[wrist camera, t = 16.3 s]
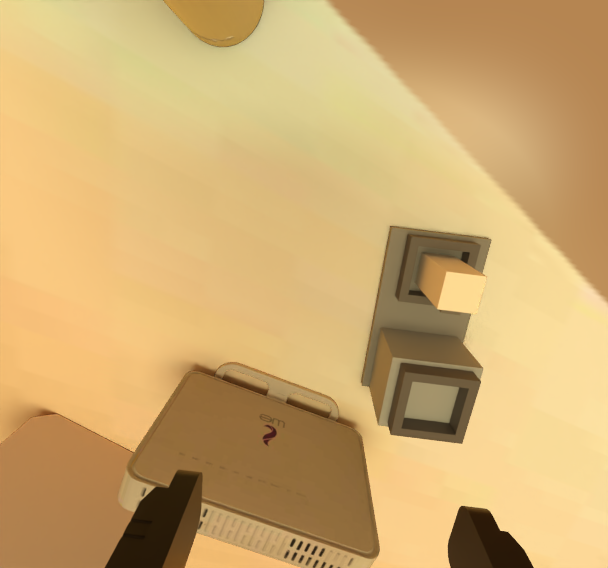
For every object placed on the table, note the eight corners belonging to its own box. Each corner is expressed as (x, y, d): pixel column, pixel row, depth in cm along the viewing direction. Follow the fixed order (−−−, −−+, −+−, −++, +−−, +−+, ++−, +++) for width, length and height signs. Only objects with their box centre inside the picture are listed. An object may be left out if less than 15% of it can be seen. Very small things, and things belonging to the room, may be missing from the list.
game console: (186, 510, 59) (124, 669, 40) (31, 432, 56) (-117, 567, 37) (203, 487, 58) (146, 642, 39) (44, 406, 54) (-104, 532, 35)
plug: (421, 252, 44) (446, 271, 35) (454, 256, 44) (487, 276, 35) (413, 289, 45) (435, 316, 37) (445, 293, 45) (474, 321, 37)
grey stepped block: (390, 226, 44) (412, 243, 34) (487, 238, 44) (540, 259, 34) (361, 381, 51) (372, 436, 40) (445, 392, 51) (478, 449, 40)
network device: (366, 410, 52) (393, 547, 33) (341, 455, 55) (353, 606, 36) (198, 348, 50) (125, 455, 31) (181, 397, 53) (103, 524, 34)
